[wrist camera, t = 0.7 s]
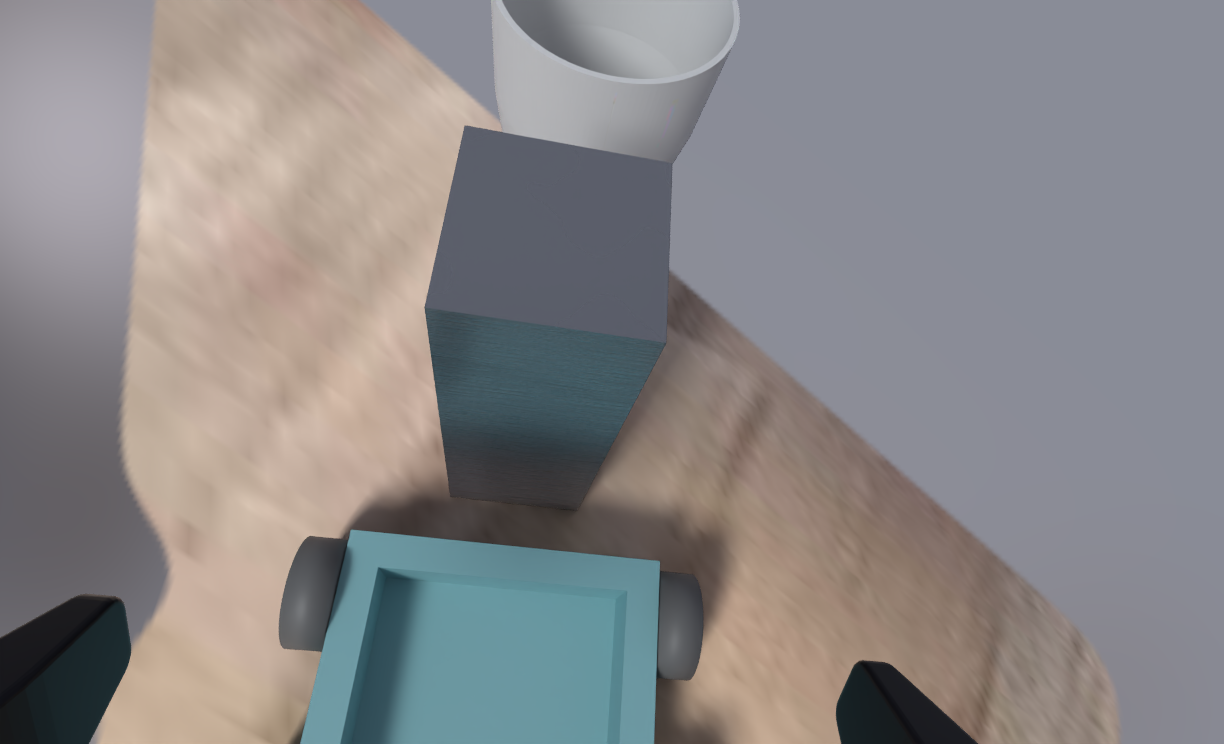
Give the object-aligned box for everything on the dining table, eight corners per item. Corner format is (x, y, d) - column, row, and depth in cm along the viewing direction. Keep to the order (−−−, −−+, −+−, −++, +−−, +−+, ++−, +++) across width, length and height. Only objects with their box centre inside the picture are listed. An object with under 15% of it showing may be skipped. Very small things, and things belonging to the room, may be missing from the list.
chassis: (669, 912, 20) (701, 949, 17) (235, 898, 18) (191, 935, 15) (676, 577, 24) (703, 561, 21) (324, 543, 22) (302, 520, 20)
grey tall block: (576, 510, 24) (666, 342, 13) (450, 496, 24) (424, 307, 12) (587, 396, 26) (672, 162, 15) (470, 381, 26) (465, 125, 14)
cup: (675, 155, 33) (750, -47, 24) (649, 292, 29) (726, 113, 20) (512, 109, 32) (525, -116, 23) (463, 243, 28) (457, 36, 19)
